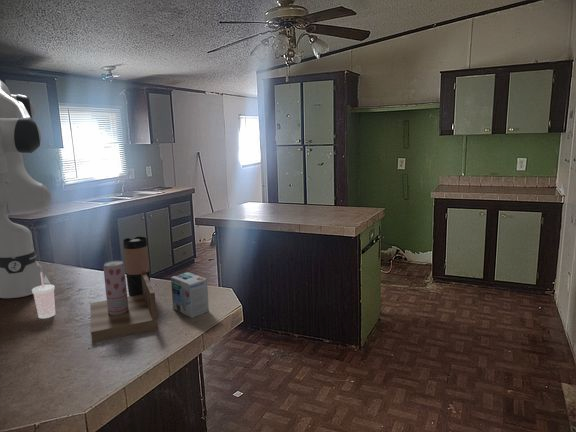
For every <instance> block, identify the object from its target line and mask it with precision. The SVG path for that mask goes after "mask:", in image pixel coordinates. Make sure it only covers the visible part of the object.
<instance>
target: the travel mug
mask: <svg viewBox="0 0 576 432" xmlns="http://www.w3.org/2000/svg"><path fill="white" fill-rule="evenodd" d="M122 242H123V251H124V252H123V254H124V268H125V278H126V285H127V289H128V290H127V293H128V297H130V296H136V295H142V294H143V289H142V277H141V271H145V272H146V274H147V277H148V279H149V281H150V282H151V276H150V275H151V271H150V262H149V261H150V260H149V250H148V240H147V237H146V236H136V237H134V238H130V237H128V238H127V237H126V238H125V239H123V240H122Z"/></svg>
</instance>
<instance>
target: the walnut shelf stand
mask: <svg viewBox="0 0 576 432" xmlns="http://www.w3.org/2000/svg"><path fill="white" fill-rule="evenodd" d="M141 277H142V289H143V294H142V295H136V296H130V297H129V296H127V299H128V310H127V312H126V313H123V314H120V315H111V314H109V313H108V307H107V299H106V300H102V301H96V302H90V303H89V305H90V306H89V308H90V334H91V342H92V343H96V342H101V341H107V340H112V339H117V338H121V337H125V336H131V335H135V334H140V333H146V332H149V331H157V330H158V329H159V328H158V317H157V306H156V305H157V302H156V294H155V290H154V287H153V286H152V283H151V280H150V281H149V279H148V277H147V274H146V272H145V271H141Z"/></svg>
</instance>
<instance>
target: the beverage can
mask: <svg viewBox="0 0 576 432" xmlns="http://www.w3.org/2000/svg"><path fill="white" fill-rule="evenodd" d="M103 274H104V275H103V277H104V285H105V286H104V287H105V288H104V289H105V295H106V296H105V297H106V300H107V307H108V313H109V314H111V315H120V314H123V313H126V312H127V310H128V299H127V297H128V290H127V289H128V288H127V278H126V268H125V263H124V262H123V260H112V261H111V260H110V261H106V262H105V263H104V264H103Z"/></svg>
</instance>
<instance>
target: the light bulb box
mask: <svg viewBox="0 0 576 432" xmlns="http://www.w3.org/2000/svg"><path fill="white" fill-rule="evenodd" d="M170 281H171V282H170V283H171V294H172V295H171V297H172V299H171V300H172V309H174V310H175V311H177V312H179V313H181V314H183V315H185V316H187V317H189V318H195V317H197V316H200V315H203V314H206V313H208V312H209V292H208V291H209V289H208V279H207V278H205V277H204V276H203V277H202V276H200V275H197V274H194V273H192V272H189V271H188V272H184V273H179V274H177V275H174V276H171V277H170ZM205 312H206V313H205Z"/></svg>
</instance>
